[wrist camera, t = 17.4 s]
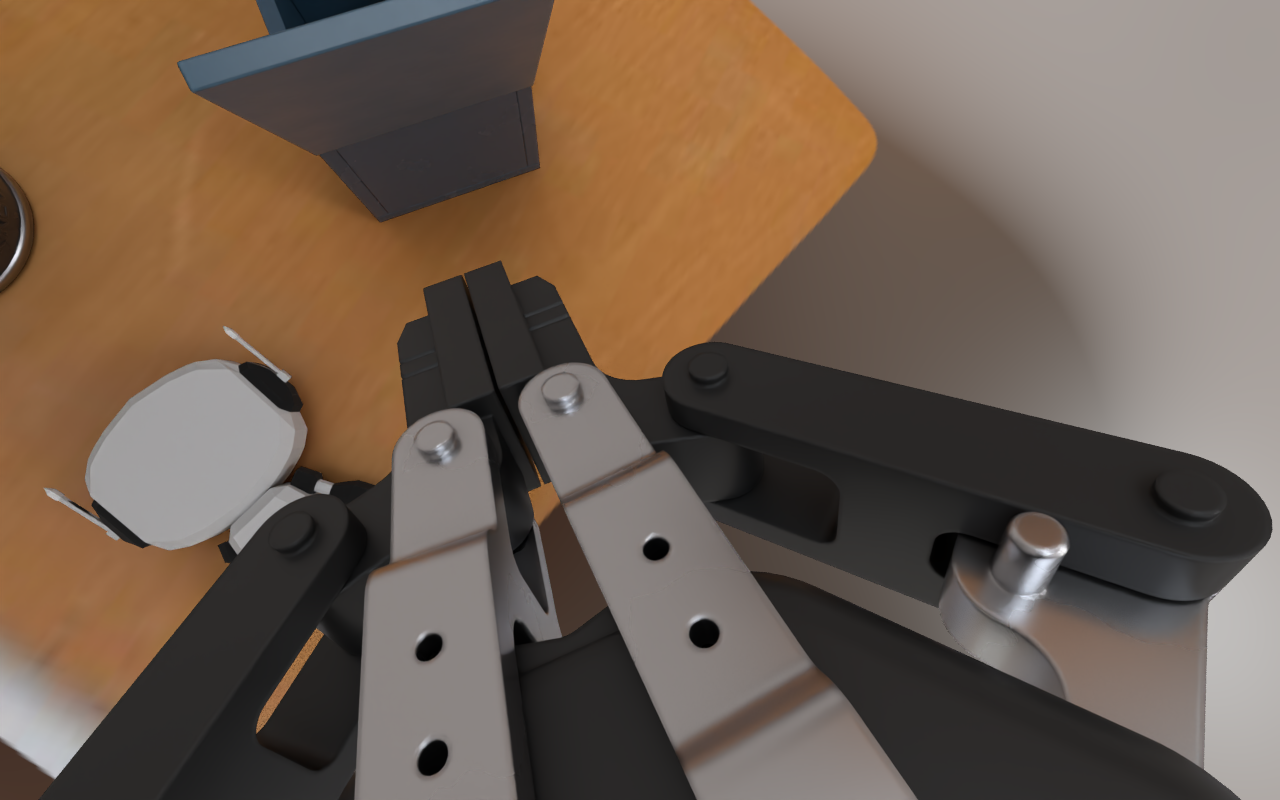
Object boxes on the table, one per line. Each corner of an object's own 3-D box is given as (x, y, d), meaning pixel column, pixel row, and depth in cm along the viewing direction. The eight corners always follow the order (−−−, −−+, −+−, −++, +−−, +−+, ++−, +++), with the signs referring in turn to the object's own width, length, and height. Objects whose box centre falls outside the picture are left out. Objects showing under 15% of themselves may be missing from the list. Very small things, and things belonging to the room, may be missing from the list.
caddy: (310, 50, 38) (223, -79, 29) (473, 1, 40) (442, -139, 30) (379, 222, 38) (315, 151, 29) (540, 168, 40) (531, 82, 30)
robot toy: (437, 497, 39) (250, 325, 37) (424, 509, 34) (211, 315, 32) (288, 646, 37) (87, 475, 35) (255, 679, 33) (22, 486, 31)
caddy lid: (174, 61, 16) (190, 93, 17) (550, -50, 18) (560, -19, 18) (307, 138, 28) (315, 156, 28) (527, 68, 29) (533, 85, 30)
